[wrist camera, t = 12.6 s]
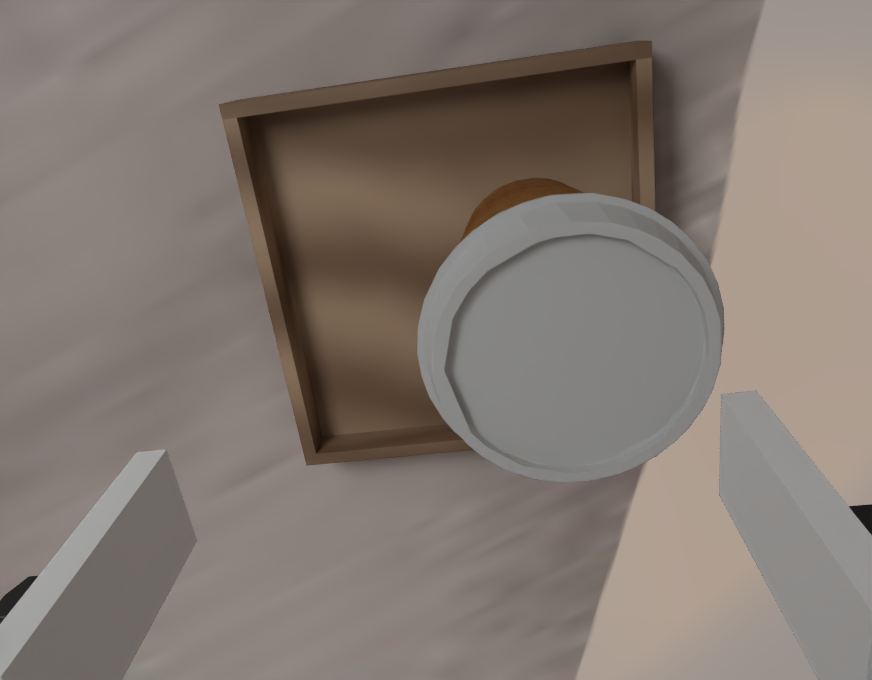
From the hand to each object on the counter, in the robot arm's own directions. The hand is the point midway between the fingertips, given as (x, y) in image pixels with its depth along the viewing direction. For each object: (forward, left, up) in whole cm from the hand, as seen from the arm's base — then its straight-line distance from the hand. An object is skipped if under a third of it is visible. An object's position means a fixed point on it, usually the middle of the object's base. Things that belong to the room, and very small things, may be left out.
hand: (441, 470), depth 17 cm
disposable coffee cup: (0, +4, -17) cm, 18 cm away
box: (0, 0, -18) cm, 18 cm away
